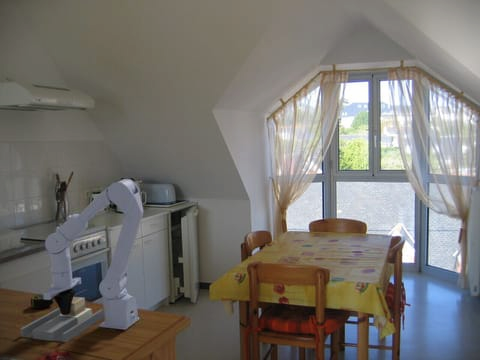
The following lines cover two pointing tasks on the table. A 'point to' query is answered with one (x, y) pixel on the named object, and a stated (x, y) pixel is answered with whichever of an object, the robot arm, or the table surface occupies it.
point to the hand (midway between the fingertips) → (65, 314)
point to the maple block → (77, 306)
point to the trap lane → (60, 325)
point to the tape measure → (40, 301)
